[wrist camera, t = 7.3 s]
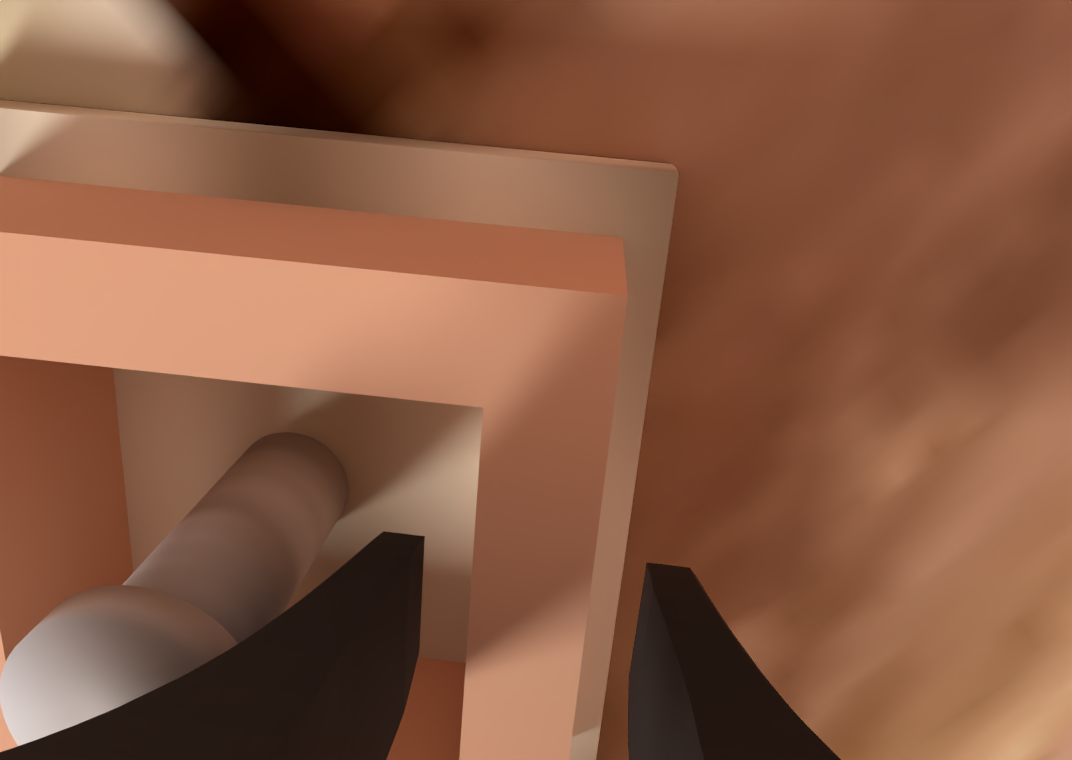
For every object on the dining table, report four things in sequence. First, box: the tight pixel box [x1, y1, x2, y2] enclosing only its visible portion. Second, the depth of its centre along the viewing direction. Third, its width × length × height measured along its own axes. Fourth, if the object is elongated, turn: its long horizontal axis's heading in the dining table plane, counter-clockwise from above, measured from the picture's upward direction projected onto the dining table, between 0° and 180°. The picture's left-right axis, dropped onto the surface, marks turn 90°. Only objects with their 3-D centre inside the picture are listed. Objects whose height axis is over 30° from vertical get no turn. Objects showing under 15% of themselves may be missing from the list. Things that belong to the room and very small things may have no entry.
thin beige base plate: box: [0, 100, 679, 760], centre depth 14 cm, size 12×19×7 cm, turn 176°
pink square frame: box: [0, 176, 628, 760], centre depth 13 cm, size 10×10×4 cm
